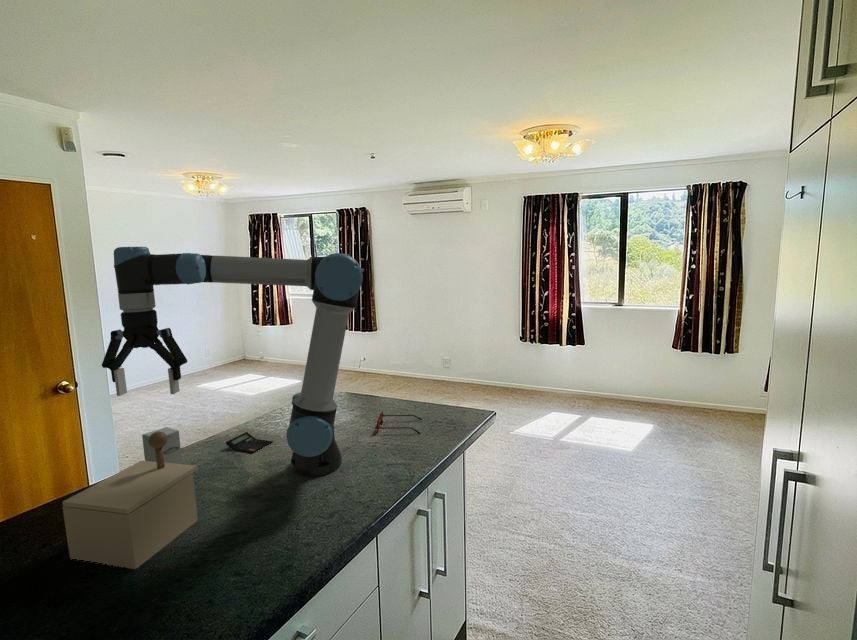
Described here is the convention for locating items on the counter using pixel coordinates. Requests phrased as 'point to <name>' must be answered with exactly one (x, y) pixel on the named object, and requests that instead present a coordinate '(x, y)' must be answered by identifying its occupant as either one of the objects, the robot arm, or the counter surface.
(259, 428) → the counter surface
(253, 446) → the calculator
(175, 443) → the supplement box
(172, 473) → the flap
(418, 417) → the glasses
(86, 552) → the carton
